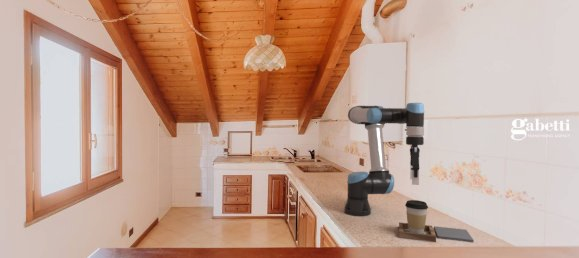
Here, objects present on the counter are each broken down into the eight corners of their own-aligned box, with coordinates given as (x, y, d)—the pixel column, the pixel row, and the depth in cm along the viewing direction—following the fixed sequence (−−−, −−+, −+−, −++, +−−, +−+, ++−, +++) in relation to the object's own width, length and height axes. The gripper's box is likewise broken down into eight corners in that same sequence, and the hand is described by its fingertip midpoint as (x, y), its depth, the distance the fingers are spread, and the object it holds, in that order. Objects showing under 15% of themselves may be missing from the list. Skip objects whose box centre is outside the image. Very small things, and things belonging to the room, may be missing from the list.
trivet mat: (434, 228, 149) (434, 226, 149) (466, 231, 144) (466, 229, 144) (438, 238, 136) (438, 236, 136) (473, 242, 131) (473, 240, 131)
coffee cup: (421, 230, 146) (421, 199, 146) (431, 238, 136) (432, 205, 136) (401, 230, 145) (401, 199, 145) (410, 238, 136) (410, 205, 135)
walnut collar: (398, 227, 150) (398, 222, 150) (431, 230, 145) (431, 225, 145) (399, 237, 136) (399, 232, 136) (436, 242, 131) (436, 236, 131)
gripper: (405, 135, 152) (404, 177, 152) (407, 137, 128) (406, 186, 129) (421, 135, 150) (420, 177, 150) (426, 137, 126) (426, 187, 126)
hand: (414, 181), depth 139 cm, fingers open, 13 cm apart
